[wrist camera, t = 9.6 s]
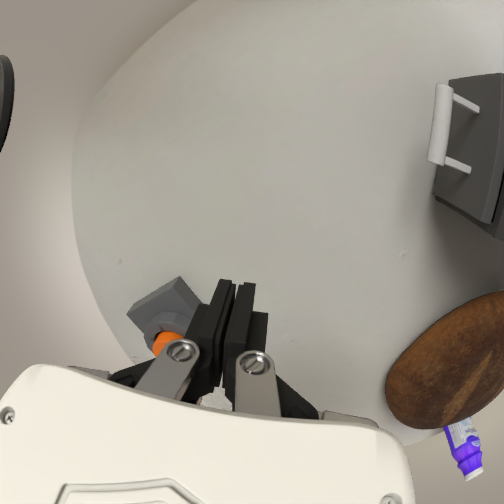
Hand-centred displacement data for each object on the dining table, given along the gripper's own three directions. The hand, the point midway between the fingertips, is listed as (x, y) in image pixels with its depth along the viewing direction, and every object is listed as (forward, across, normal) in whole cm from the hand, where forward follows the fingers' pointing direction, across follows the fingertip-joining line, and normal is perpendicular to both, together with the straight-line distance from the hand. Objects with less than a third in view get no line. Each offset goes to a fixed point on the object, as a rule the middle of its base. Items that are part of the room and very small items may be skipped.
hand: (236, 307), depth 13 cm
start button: (+9, +7, +14) cm, 18 cm away
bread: (+13, -34, +16) cm, 40 cm away
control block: (+13, +8, +14) cm, 20 cm away
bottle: (+14, -46, +35) cm, 59 cm away
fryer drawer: (+12, -20, -11) cm, 26 cm away
